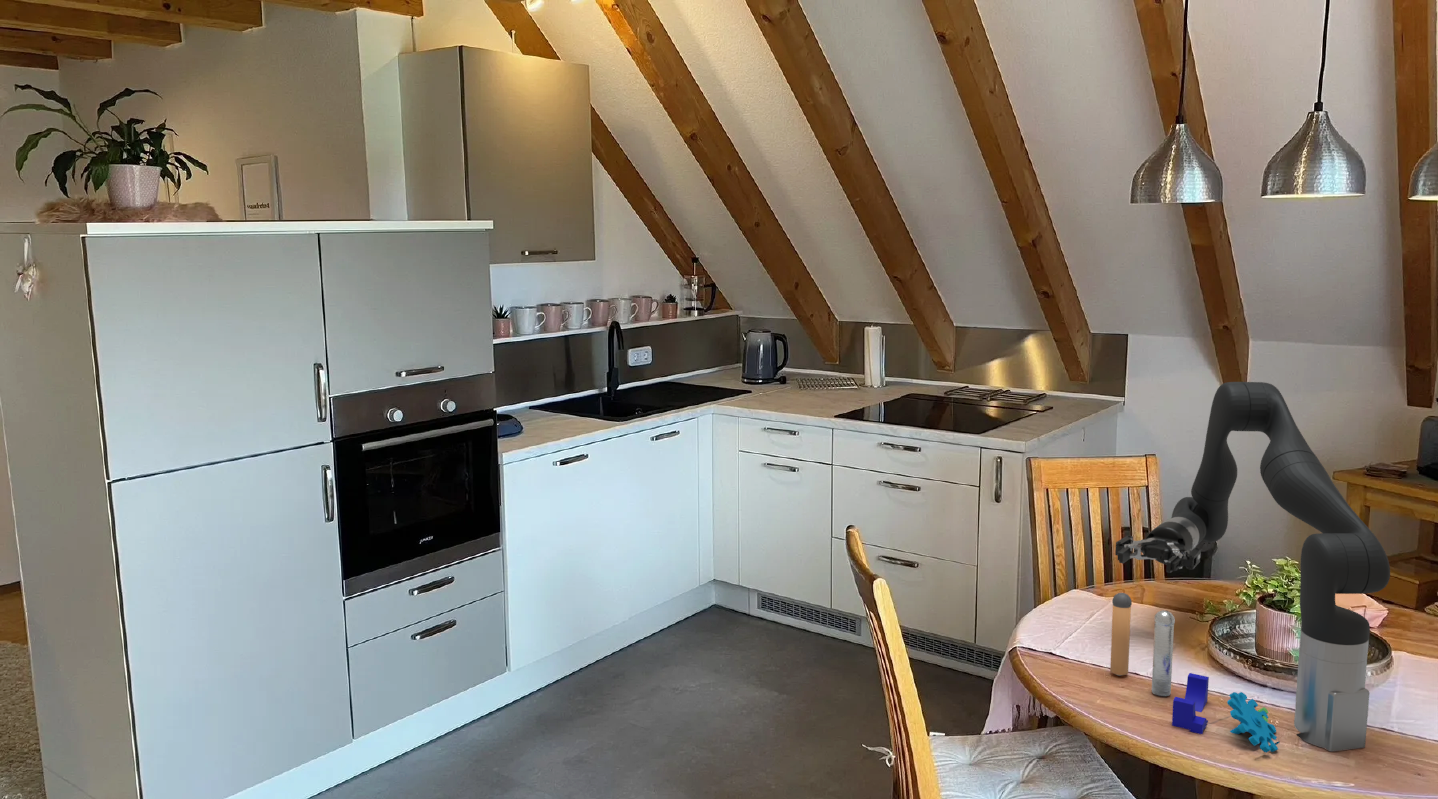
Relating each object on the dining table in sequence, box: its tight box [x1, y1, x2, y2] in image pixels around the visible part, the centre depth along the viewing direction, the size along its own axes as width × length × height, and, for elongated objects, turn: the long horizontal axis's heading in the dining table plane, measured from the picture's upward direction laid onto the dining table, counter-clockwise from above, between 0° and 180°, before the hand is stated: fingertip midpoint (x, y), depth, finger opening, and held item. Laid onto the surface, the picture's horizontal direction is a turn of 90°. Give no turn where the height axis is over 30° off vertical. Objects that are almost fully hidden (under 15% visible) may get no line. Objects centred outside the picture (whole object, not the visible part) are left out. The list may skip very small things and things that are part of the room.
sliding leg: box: [1109, 592, 1133, 677], centre depth 188 cm, size 3×3×15 cm
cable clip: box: [1171, 672, 1210, 735], centre depth 174 cm, size 12×4×6 cm, turn 145°
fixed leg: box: [1151, 609, 1176, 697], centre depth 180 cm, size 3×3×15 cm
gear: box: [1226, 691, 1281, 753], centre depth 168 cm, size 11×6×10 cm
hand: (1144, 562), depth 195 cm, fingers open, 8 cm apart
